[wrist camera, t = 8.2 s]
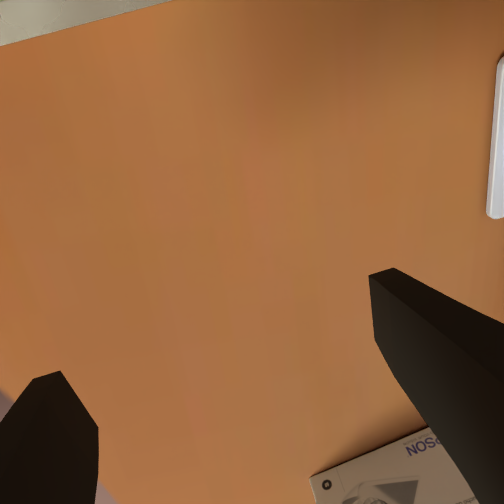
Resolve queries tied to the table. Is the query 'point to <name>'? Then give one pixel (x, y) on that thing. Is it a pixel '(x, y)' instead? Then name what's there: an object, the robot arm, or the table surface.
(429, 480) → the ink box
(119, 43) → the table surface
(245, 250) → the table surface
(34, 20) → the grey tray holder
